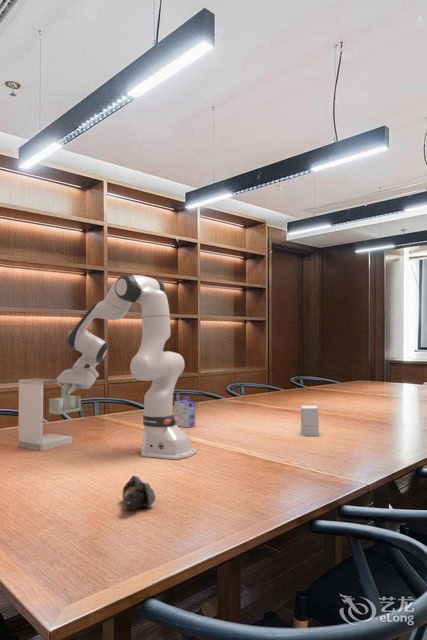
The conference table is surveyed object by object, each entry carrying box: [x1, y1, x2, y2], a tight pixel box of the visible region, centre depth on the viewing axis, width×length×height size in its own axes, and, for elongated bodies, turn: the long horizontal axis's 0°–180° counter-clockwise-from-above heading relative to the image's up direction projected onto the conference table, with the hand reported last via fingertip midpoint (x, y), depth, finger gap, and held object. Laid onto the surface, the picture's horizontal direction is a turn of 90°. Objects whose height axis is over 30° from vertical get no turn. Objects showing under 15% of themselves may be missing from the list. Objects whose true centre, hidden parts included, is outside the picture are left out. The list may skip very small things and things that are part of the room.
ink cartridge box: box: [173, 395, 196, 429], centre depth 231 cm, size 10×6×14 cm, turn 53°
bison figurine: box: [121, 475, 156, 511], centre depth 124 cm, size 12×7×10 cm
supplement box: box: [300, 405, 320, 437], centre depth 210 cm, size 7×7×13 cm
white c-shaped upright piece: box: [18, 377, 73, 452], centre depth 194 cm, size 14×16×28 cm
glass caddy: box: [48, 386, 82, 415], centre depth 202 cm, size 6×12×11 cm, turn 148°
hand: (65, 393), depth 202 cm, fingers closed on glass caddy
